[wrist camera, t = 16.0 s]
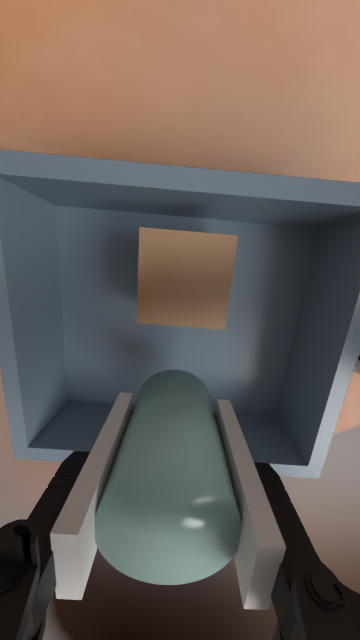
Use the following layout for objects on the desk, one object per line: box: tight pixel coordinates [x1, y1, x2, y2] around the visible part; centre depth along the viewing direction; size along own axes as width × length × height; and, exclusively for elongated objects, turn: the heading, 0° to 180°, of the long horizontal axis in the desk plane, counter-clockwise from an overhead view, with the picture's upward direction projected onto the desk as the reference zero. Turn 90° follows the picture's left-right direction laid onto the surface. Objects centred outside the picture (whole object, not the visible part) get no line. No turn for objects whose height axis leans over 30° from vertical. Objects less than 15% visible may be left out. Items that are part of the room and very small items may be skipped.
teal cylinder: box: [95, 370, 242, 585], centre depth 10 cm, size 5×5×7 cm
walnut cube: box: [137, 227, 238, 330], centre depth 13 cm, size 5×5×5 cm
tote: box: [0, 150, 360, 478], centre depth 15 cm, size 18×21×6 cm
